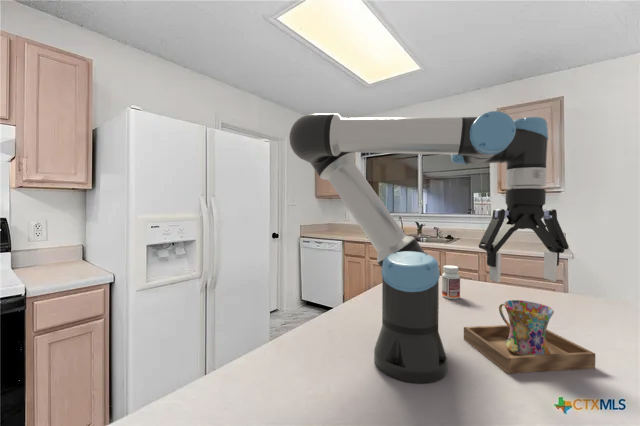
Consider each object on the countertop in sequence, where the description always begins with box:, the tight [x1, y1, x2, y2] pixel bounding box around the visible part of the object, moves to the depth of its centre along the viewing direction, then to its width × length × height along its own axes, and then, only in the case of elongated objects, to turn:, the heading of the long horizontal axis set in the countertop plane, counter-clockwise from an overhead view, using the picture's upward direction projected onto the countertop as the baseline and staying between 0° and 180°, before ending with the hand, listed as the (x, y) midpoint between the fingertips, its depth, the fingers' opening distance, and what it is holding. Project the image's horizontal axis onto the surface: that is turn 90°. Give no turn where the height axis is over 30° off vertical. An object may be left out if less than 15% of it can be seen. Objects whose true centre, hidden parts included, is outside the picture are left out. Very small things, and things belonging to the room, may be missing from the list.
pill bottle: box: [441, 264, 461, 300], centre depth 110 cm, size 6×6×11 cm
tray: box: [463, 324, 596, 374], centre depth 69 cm, size 20×16×3 cm
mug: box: [498, 299, 554, 356], centre depth 69 cm, size 12×9×11 cm
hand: (522, 280), depth 69 cm, fingers open, 13 cm apart
